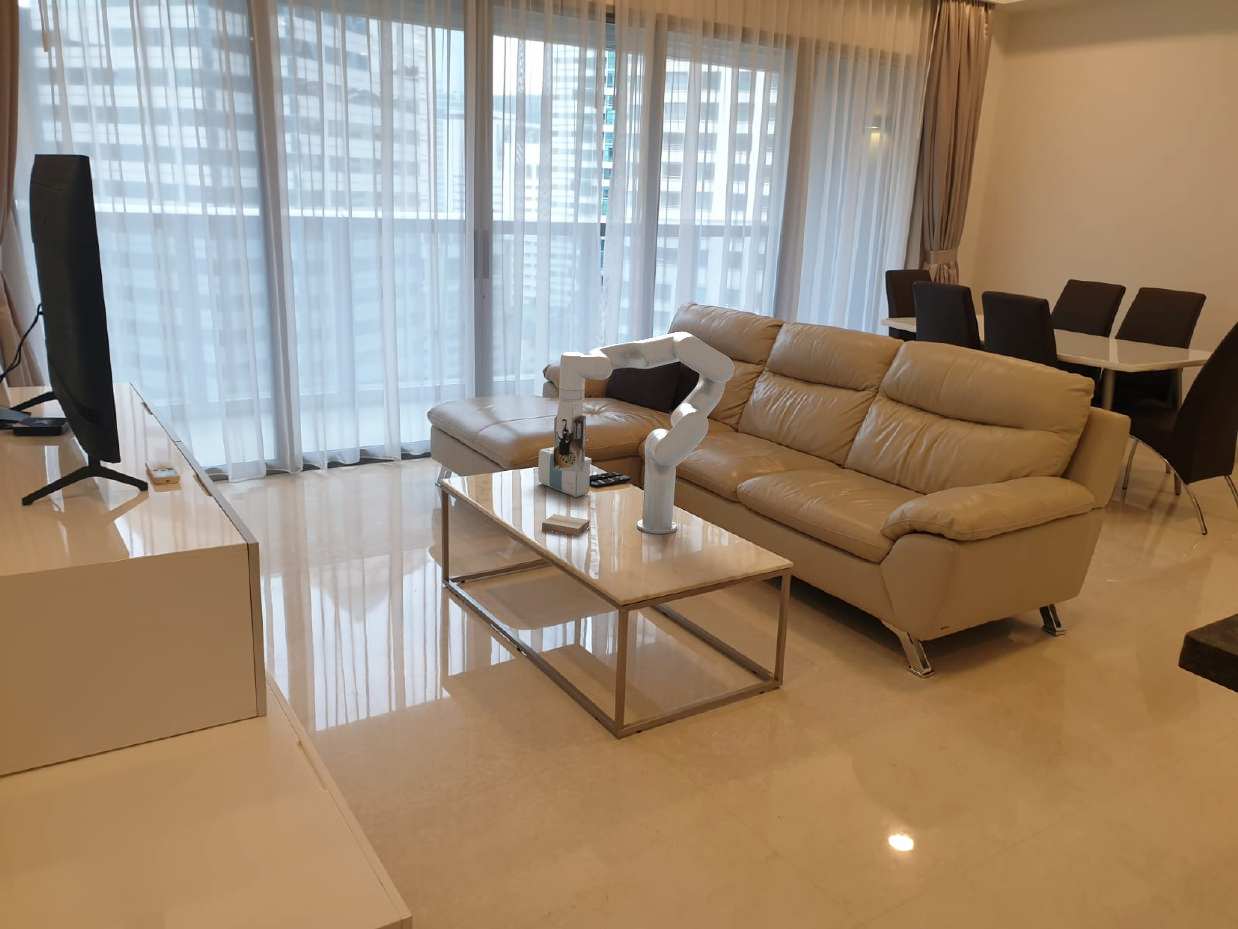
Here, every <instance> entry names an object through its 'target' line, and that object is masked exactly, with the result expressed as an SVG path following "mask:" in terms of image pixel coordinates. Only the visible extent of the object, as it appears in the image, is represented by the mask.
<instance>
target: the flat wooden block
mask: <svg viewBox="0 0 1238 929" xmlns="http://www.w3.org/2000/svg"><path fill="white" fill-rule="evenodd" d="M588 527H589V528H590V520H589V519H586V518H585V519H584V518H579V517H573V516H567V515H562V514H555V513H554V514H552V515H550V517H548V518H547V519H545V520H544V521H542V522H541V531H545V532H550V531H553V532H552V533H556V532H557V534H562V535H567V534H569V535H568V536H573V535H574V536H575V537H580V535H582V534H583V533H584V532H586V529H587V528H588ZM589 528H588V529H589ZM588 529H587V530H588ZM574 536H573V537H574Z"/></svg>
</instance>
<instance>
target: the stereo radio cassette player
mask: <svg viewBox="0 0 1238 929" xmlns="http://www.w3.org/2000/svg"><path fill="white" fill-rule="evenodd" d="M586 441H589V439H588V438H587V439H585V442H586ZM553 455H554V446H552V447H547V448H541V449H539V451H538V462H537V463H538V465H537V466H538V468H537V469H538V470H537V473H538V474H537V475H538V482H540V483H541V484H542V485H543V484H544V485H545V486H546V487H549V488H552V489H555V490H556V491H560V492H562V493H565V494H567V495H570V496H571V497H574V498H577V497H580V496H581V497H582V496H584V495H585V494H586V495H588V493H590V478H591V477H590V475H591V474H590V473H591V465H592V461H593V460H592V458H591V457H588V456H585V464H584V469H583V471H582V472H575V471H559V470H553Z"/></svg>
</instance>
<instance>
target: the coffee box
mask: <svg viewBox="0 0 1238 929" xmlns="http://www.w3.org/2000/svg"><path fill="white" fill-rule="evenodd" d="M556 425H557V415H556V416H555V418H554V419H553V447H554V455H553V470H559V471H575V472H582V471H583V469H584V464H585V457H586V454H585V453H586V432H587V431H586V428H587V426H586V425H587V415H583V416H581V417H579V418H578V419H576V420H575V423H574V430H573V433H572V434H570V438H569V442H570V454H569V455H568V456H566V455H560V454H559V435H558V432H557V431H556ZM568 431H569V430H567V429H566V428H565V430H564V432H568ZM564 435H565V434H564ZM565 436H566V438H567V435H565Z"/></svg>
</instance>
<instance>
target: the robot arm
mask: <svg viewBox="0 0 1238 929" xmlns="http://www.w3.org/2000/svg"><path fill="white" fill-rule="evenodd" d="M559 362H560V363H559V390H558V391H559V392H558V400H559V401H558V407H557V414H556V416H557V425H556V431H557V432H558V435H559V454H560V455H566V456H568V455H569V454H570V442H569V438H570V434H572V433H573V430H574V423H575V420H576V419H578V418H579V417H581V416H584V404H583V402H584V400H585V392H586V391H585V390H586V388H585V387H586V379H590V380H598V381H602V380H606V379H608V378H609V377H610V376H612V373H613V370H617V369H626V368H632V369H633V368H634V369H643V370H645V369H646V370H648V369H653V368H656V367H659V366H664V365H668V364H673V363H677V362H681V363H682V364H683V365H685V366H686V367H688V368H689V369H691V370H692V371H694V372H697V373H698V374H699V378H698V381H697V383H696V386H695V387H694V388H693V390H692V391H691V392H690V393H689V394H688V395H687V396H686V397H685V399H684V400H683V401H681V403H680V404H679V405H678V406H677V407H676V408H675V409H674V410H673V412H672V413H671V416H670V424H671V426H672V428H671V429H670V430H668V429H665V428H656V429H654V430H652V431H651V432H649V434H648V435H647V437H646V439H645V442H644V463H645V465H644V467H645V468H644V485H643V500H642V502H643V503H642V514H641V515H642V518H641V519H639V520H638V521H637V522H636V527H637V529H638V530H640V531H642V532H644V533H648V534H656V535H664V534H671V533H674V532H675V531H676V530H677V529H678V525H677V523H676V522H675V521H673V515H674V503H675V502H674V501H675V489H676V488H675V486H676V485H675V484H676V475H677V474H676V473H677V472H676V470H677V469H676V468H677V466H678V465H680V464H681V463H682V462H683V461H684V460H685V459H686V458H687V457H688V456H689V455H690V454H691V453H692V452H693V451H694V449H695V448H697V446H699V444H700V443H701V442H702V441H703V439H704V438H705V437H706V435H707V433H708V431H709V425H710V424H709V420H708V416H709V415H710V413H712V411H713V410H714V409H715V408H716V407H717V405H718V404H719V403H720V401H721V399H722V398H723V396H724V392H725V390H726V389H725V388H726V382H728V381H729V380H730V379H732V377H733V376H734V374H735V373H734V372H735V365H734V362H733V361H732V359H731V358H730V357H728V356H727V355H726V354H724V353H722V352H720V351H718V350H717V349H715V348H714V347H712V346H711V345H709V344H708V343H706V342H704V341H702V340H701V339H700V338H698V337H696V336H695V335H693V334H691V333H689V332H686V331H679V332H674V333H669V334H666V335H665V334H664V335H661V336H656V337H652V338H647V339H644V340H643V339H642V340H639V341H637V340H635V341H631V342H625V343H624V342H623V343H618V344H616V343H615V344H613V345H612V344H610V345H607V346H602V347H598V348H594V349H592V350H589V351H588V352H587V353H586V354H583V353H581V352H574V351H568V352H563V353H562V354H561V355H560V361H559ZM565 428H566V429H567V430H569V431H568V432H564V430H565ZM564 434H565V435H567V438H566V436H565V435H564Z"/></svg>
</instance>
